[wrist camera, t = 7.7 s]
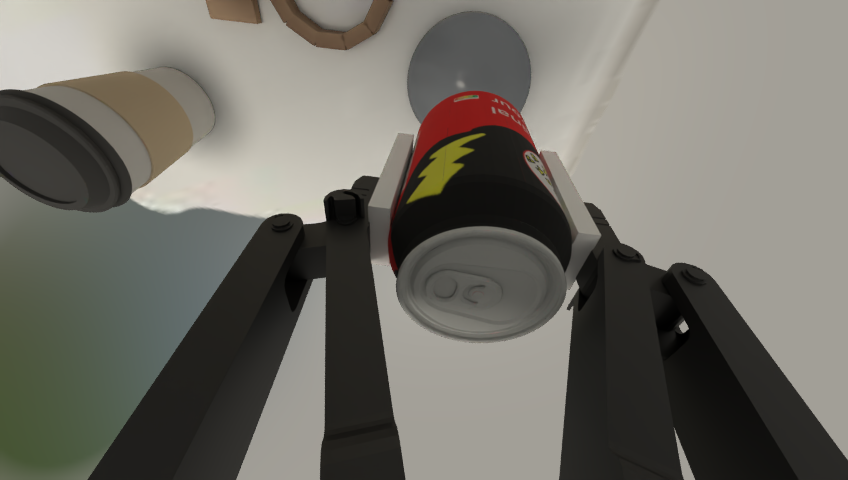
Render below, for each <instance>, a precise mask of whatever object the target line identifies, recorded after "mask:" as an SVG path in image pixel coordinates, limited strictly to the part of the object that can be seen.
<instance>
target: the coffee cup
mask: <svg viewBox="0 0 848 480" xmlns="http://www.w3.org/2000/svg"><path fill="white" fill-rule="evenodd" d="M214 123H215V114H214V109H213V106H212V104H211V102H210V100H209V98H208V96H207V95H206V93H205V92H204V90H203V89H202V88H201V87H200V86H199V85H198V84H197V83H196V82H195V81H194V80H193V79H192V78H190V77H189V76H188V75H186V74H184V73H183V72H181V71H179V70H176V69H173V68H169V67H159V68H153V69H147V70H141V71H135V72H127V71H124V72H116V73H110V74H104V75H98V76H91V77H85V78H79V79H73V80H66V81H60V82H54V83H48V84H43V85H41V86H39V87H37V88H35V89H29V90H23V91H22V90H13V89H9V90H1V91H0V177H2V178H4V179H5V180H6V181H7V182H9V183H10V184H11V185H13V186H14V187H15V188H17V189H18V190H20V191H21V192H23V193H25V194H26V195H28V196H30V197H31V198H33V199H35V200H37V201H39V202H42V203H44V204H46V205H49V206H52V207H55V208H59V209H64V210H78V211H83V212H103V211H106V210H108V209H110V208H112V207H117V206H120V205H122V204H124V203H126V202H127V201H128V200H129V198H130V196H131V194H132V193H133V192H134V191H135V190H137V189H138V188H141V187H144V186H146V185H147V184H148V183H149V182H151V181H152V180H153V179H154V178H156V177H157V176H158V175H159V174H161V173H162V172H163V171H164V170H166V169H167V168H168V167H169V166H170V165H172V164H173V163H174V162H175V161H177V160H178V159H179V158H180V157H182V156H183V155H184V154H185V153H186V152H188V151H189V149H190V148H191V147H192V146H193V145H194V144H195V143H197V142H198V141H199V140H200V139H202V138H203V137H204V136H206V135H207V134H208V133H209V132H210V131H211V130H212V129H213V127H214Z"/></svg>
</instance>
